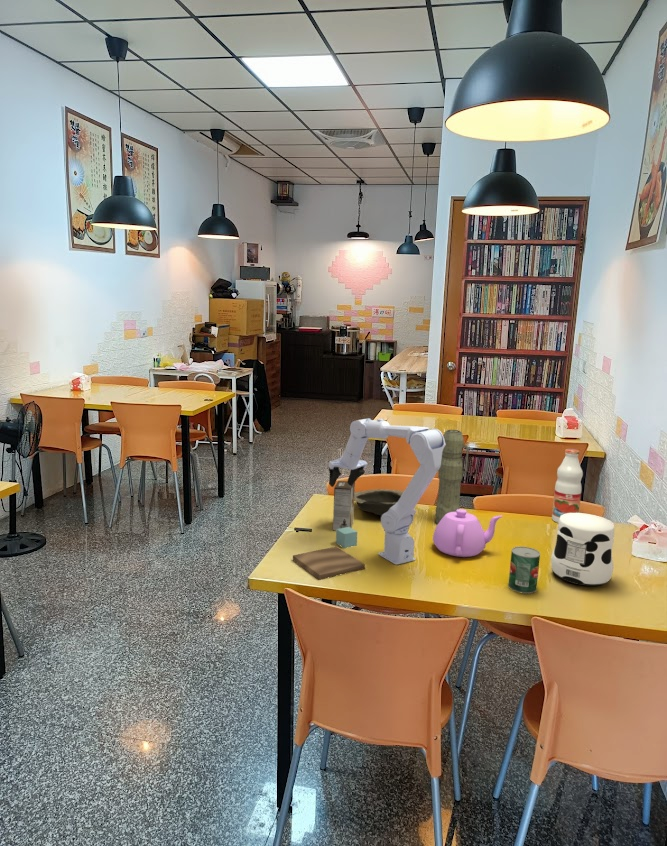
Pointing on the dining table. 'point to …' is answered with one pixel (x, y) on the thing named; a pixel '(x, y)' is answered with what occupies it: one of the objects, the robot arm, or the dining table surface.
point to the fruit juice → (567, 486)
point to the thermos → (450, 474)
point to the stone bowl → (377, 500)
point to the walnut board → (328, 562)
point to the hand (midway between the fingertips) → (340, 484)
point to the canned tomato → (524, 569)
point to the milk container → (583, 549)
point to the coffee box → (343, 505)
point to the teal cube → (346, 537)
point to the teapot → (462, 534)
